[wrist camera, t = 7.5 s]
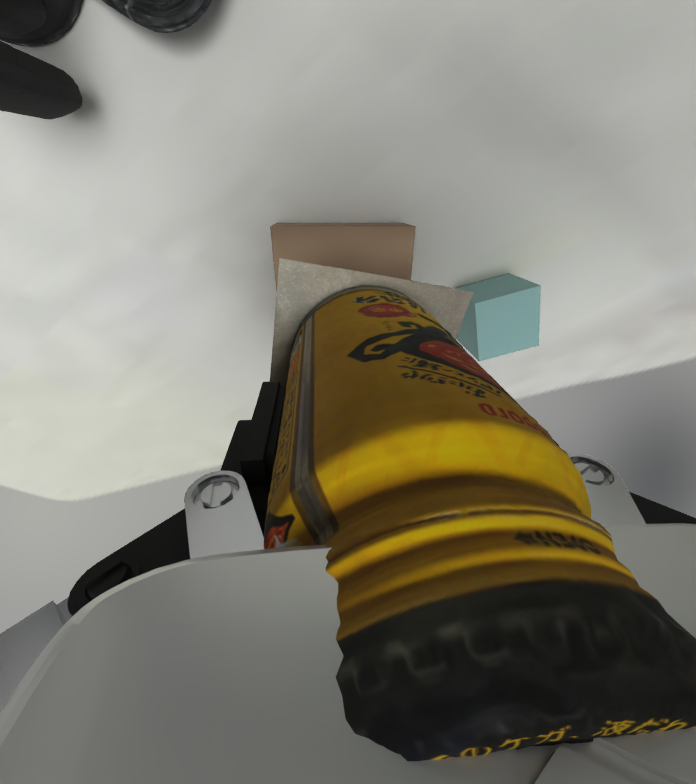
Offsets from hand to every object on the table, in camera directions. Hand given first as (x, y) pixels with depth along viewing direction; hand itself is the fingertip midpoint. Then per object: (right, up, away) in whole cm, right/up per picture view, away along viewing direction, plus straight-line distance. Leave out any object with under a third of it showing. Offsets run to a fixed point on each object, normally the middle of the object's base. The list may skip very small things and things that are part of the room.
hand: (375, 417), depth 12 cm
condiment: (-1, +2, +3) cm, 3 cm away
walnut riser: (-2, +10, +17) cm, 20 cm away
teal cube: (+11, +9, +19) cm, 24 cm away
